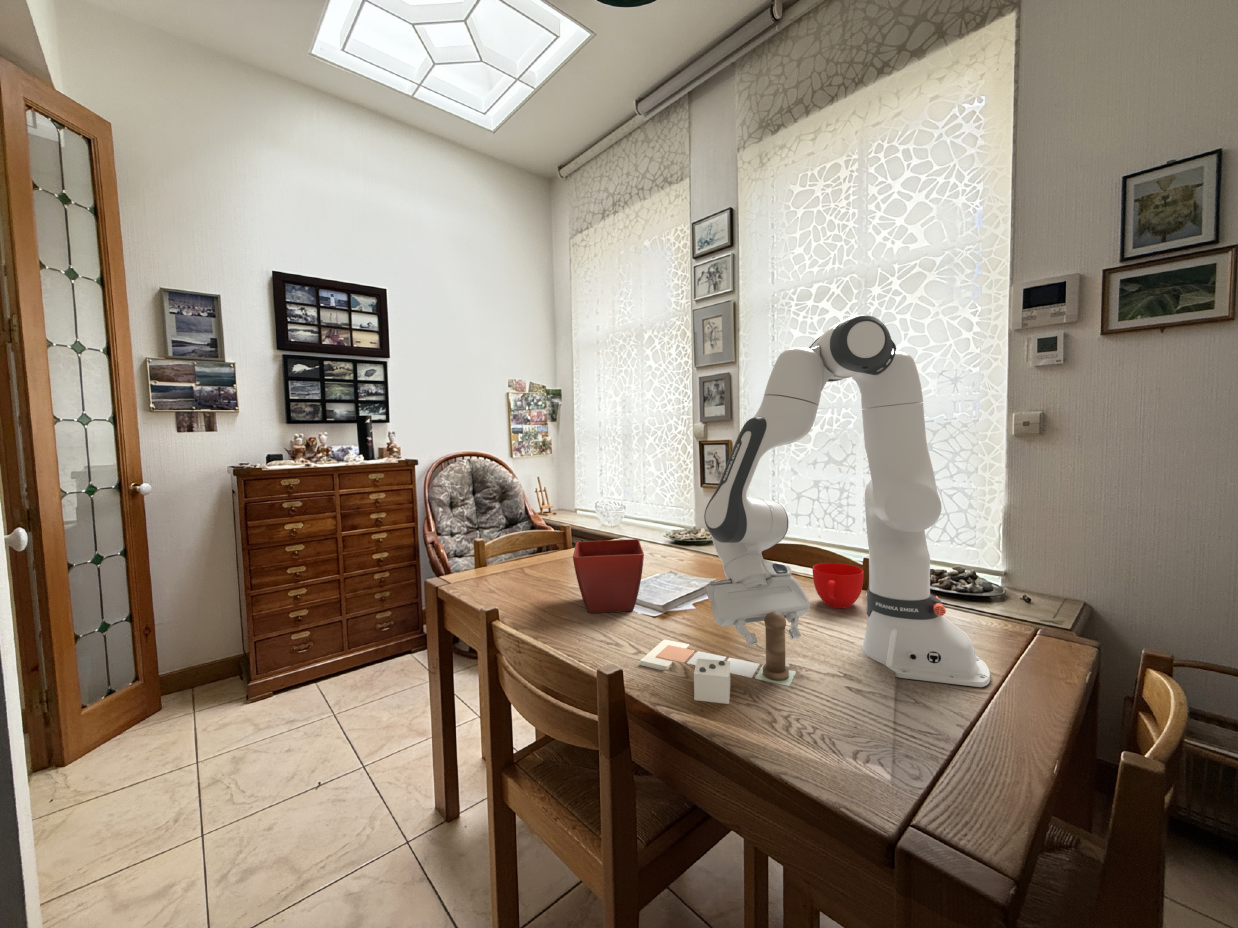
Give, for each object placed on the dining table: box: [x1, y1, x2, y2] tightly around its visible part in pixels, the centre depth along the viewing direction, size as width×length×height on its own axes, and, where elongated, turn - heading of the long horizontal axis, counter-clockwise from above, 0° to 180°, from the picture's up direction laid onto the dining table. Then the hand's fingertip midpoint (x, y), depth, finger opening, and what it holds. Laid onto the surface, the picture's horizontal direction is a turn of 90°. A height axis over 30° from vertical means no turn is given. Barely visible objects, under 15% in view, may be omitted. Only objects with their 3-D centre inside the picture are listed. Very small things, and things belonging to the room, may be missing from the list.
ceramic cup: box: [812, 562, 865, 609], centre depth 135 cm, size 13×17×10 cm
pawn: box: [763, 611, 790, 681], centre depth 95 cm, size 5×5×12 cm
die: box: [693, 658, 731, 705], centre depth 89 cm, size 6×6×7 cm
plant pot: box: [572, 538, 645, 614], centre depth 141 cm, size 19×19×17 cm
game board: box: [639, 638, 797, 687], centre depth 101 cm, size 32×12×1 cm, turn 60°
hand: (774, 640), depth 95 cm, fingers open, 8 cm apart
